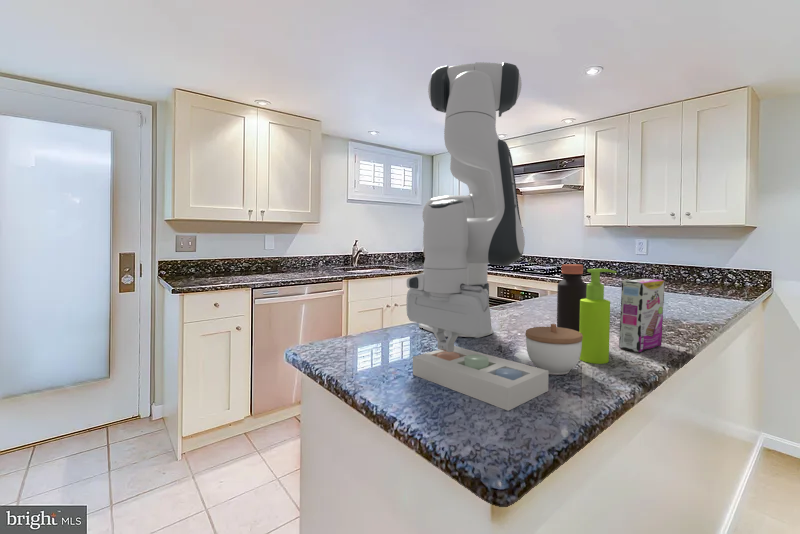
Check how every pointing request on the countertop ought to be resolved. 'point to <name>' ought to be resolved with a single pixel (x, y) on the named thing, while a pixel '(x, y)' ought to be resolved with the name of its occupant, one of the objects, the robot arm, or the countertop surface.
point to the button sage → (476, 361)
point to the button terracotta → (448, 355)
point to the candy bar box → (641, 314)
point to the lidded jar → (554, 348)
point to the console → (482, 378)
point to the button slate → (509, 373)
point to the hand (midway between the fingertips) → (445, 350)
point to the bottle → (570, 296)
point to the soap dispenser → (595, 321)
